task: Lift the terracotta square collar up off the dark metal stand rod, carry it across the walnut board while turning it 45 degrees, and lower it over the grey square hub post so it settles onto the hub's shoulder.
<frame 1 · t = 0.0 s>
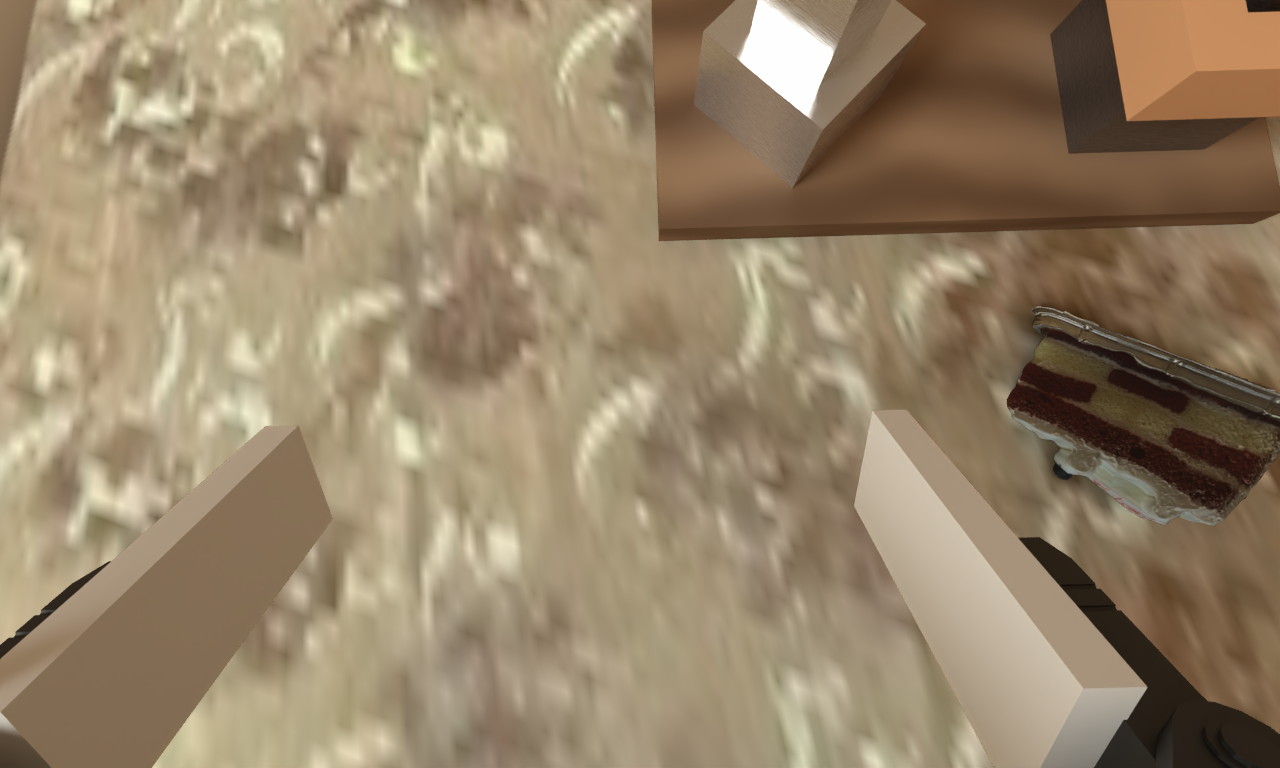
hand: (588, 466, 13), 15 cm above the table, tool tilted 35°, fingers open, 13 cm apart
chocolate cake: (1090, 426, 29), on the table
collar: (1222, 14, 24), point 6 cm above the table, touching stand
stand: (1102, 109, 31), resting on board
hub: (779, 119, 31), resting on board
board: (940, 114, 31), on the table
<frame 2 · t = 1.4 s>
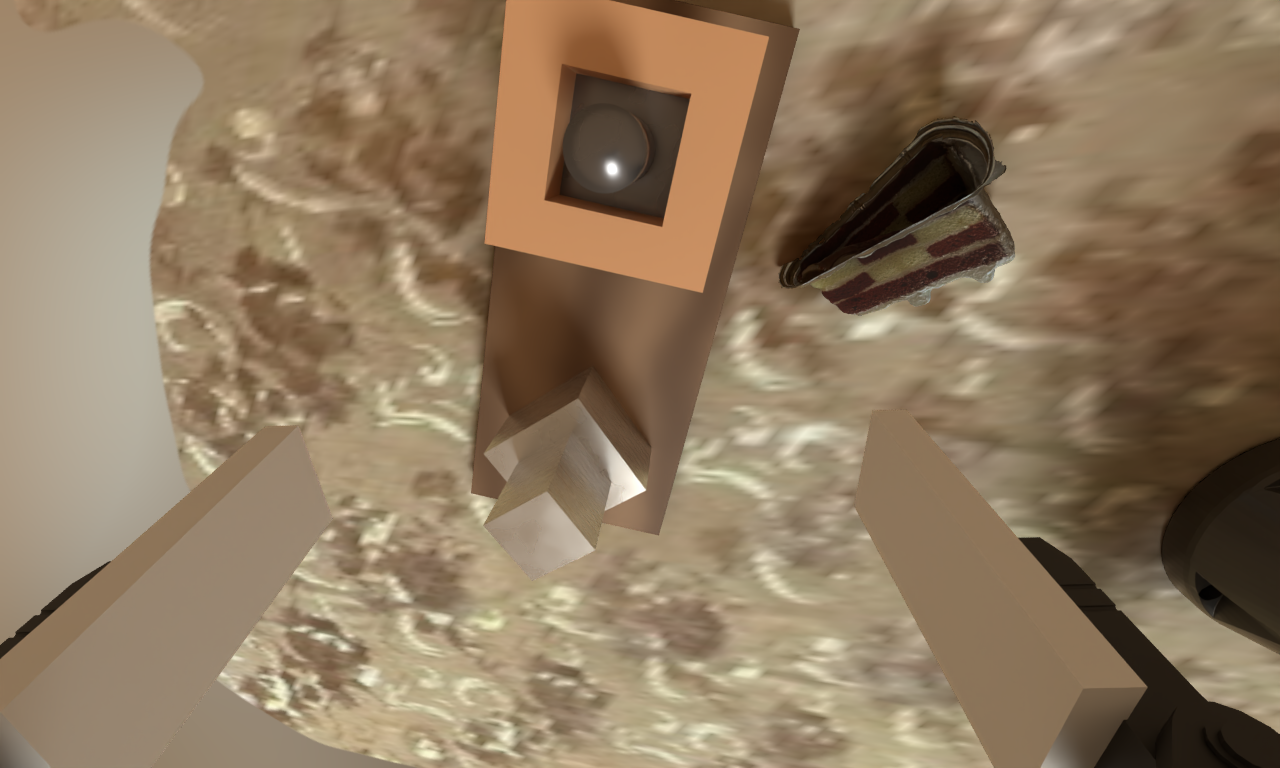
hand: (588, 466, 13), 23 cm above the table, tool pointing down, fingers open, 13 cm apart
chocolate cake: (890, 244, 33), on the table
collar: (622, 149, 25), point 6 cm above the table, touching stand
stand: (635, 148, 31), resting on board
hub: (584, 421, 39), resting on board
board: (607, 299, 35), on the table
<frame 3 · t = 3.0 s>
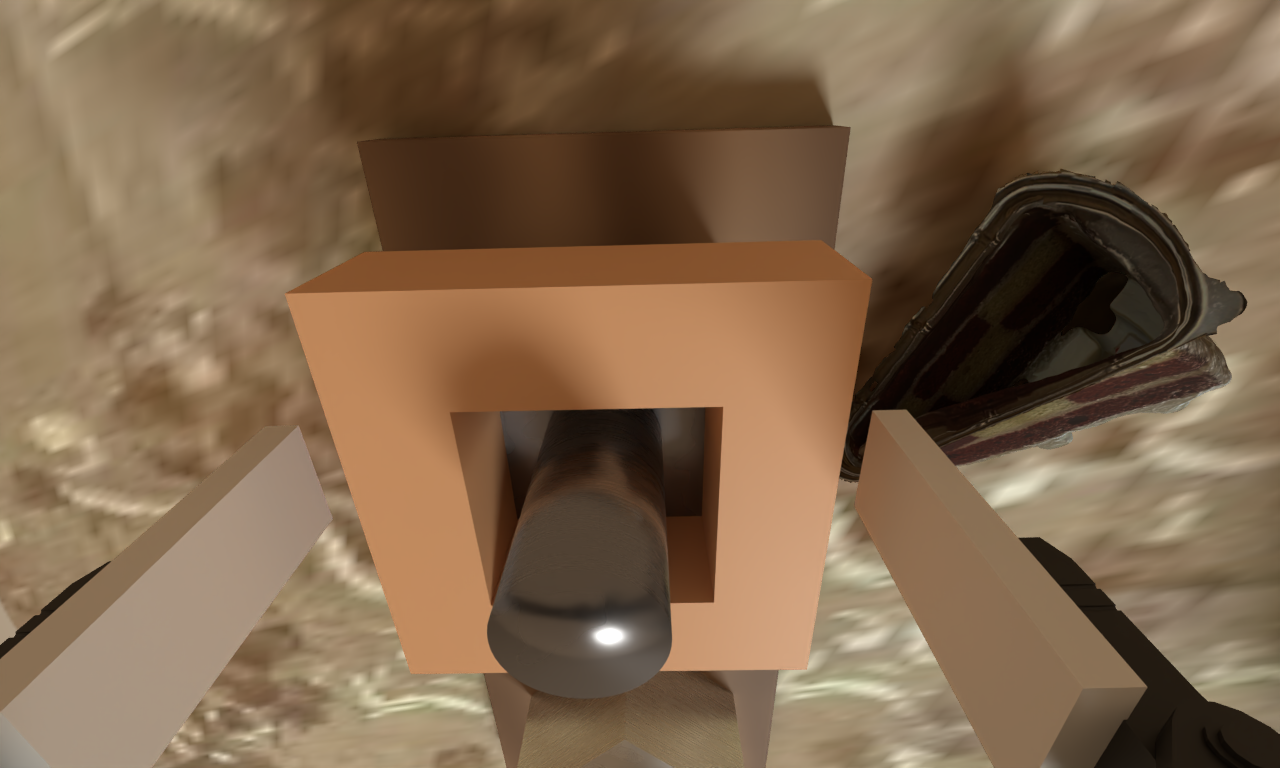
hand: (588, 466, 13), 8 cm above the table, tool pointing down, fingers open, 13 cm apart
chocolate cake: (979, 358, 21), on the table
collar: (604, 439, 14), point 6 cm above the table, touching stand
stand: (615, 342, 20), resting on board
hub: (632, 666, 28), resting on board
board: (625, 532, 24), on the table
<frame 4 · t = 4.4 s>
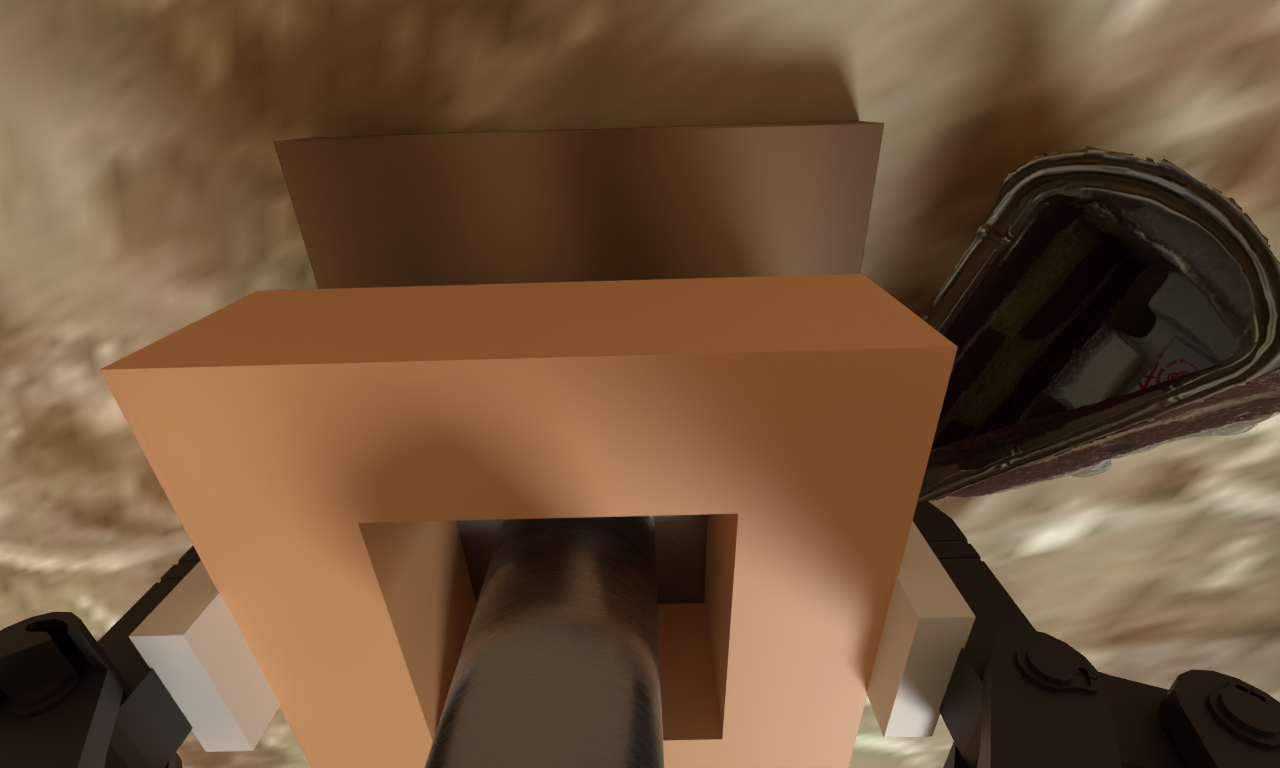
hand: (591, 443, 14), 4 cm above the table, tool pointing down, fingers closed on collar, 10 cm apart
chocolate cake: (995, 372, 18), on the table
collar: (581, 517, 11), point 7 cm above the table, touching gripper, stand
stand: (600, 376, 17), resting on board
board: (614, 584, 21), on the table
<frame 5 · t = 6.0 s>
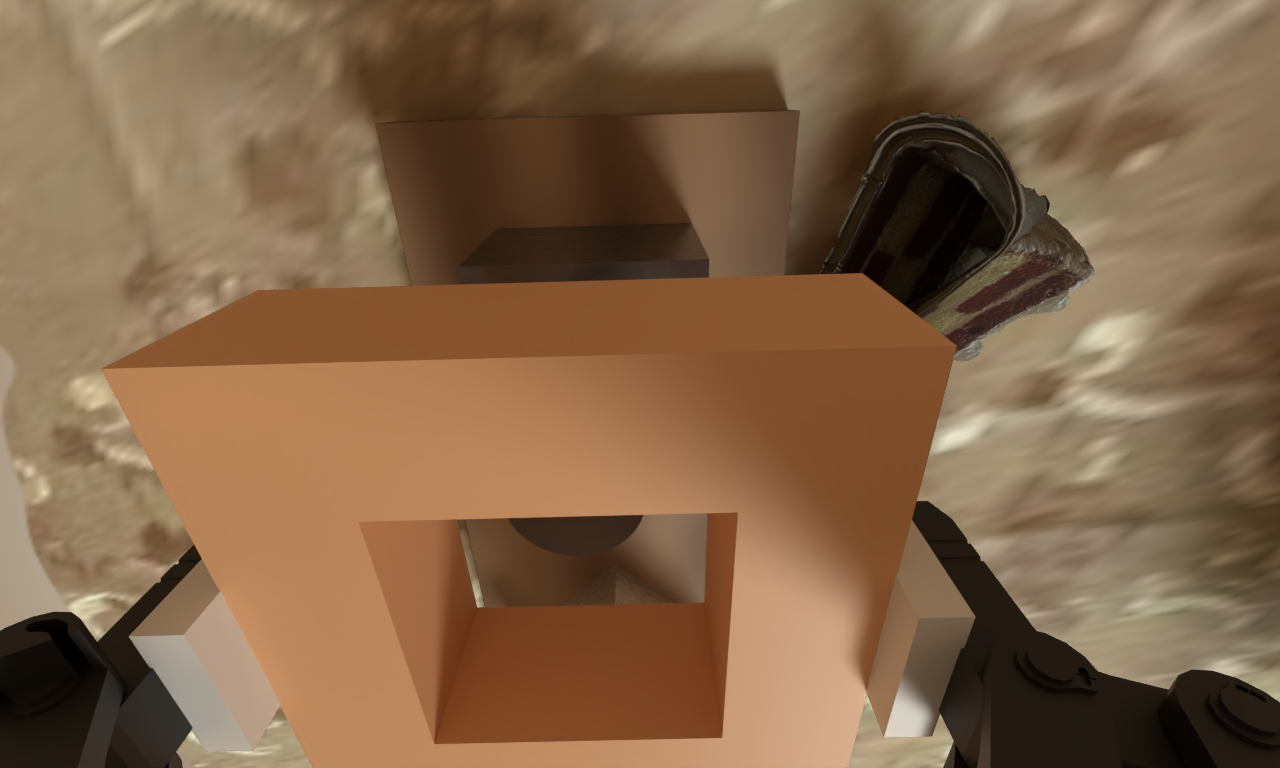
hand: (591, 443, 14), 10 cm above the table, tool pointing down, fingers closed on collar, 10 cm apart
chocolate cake: (896, 288, 23), on the table
collar: (581, 516, 11), point 13 cm above the table, touching gripper
stand: (602, 304, 23), resting on board
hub: (621, 607, 31), resting on board
board: (613, 479, 27), on the table
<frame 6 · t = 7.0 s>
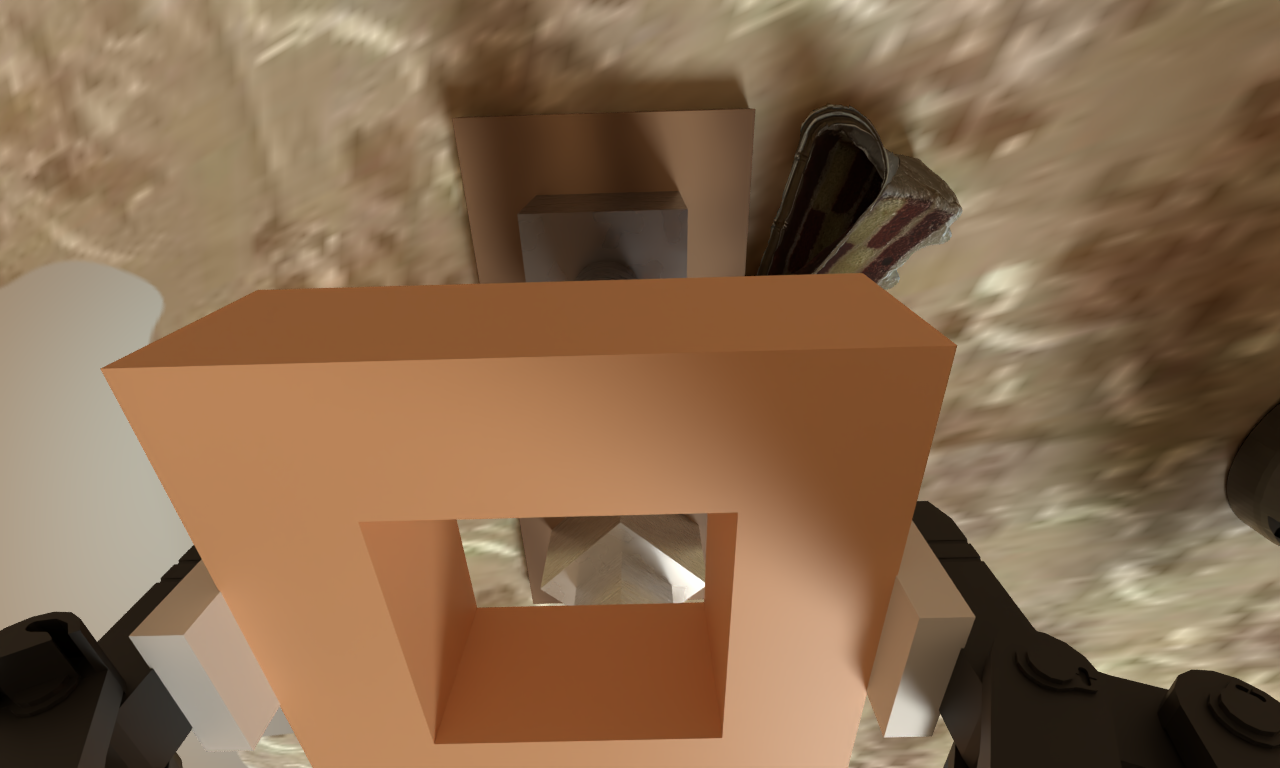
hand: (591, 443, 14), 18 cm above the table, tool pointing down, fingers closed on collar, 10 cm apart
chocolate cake: (833, 238, 30), on the table
collar: (581, 516, 11), point 21 cm above the table, touching gripper
stand: (612, 256, 30), resting on board
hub: (625, 513, 38), resting on board
board: (619, 400, 34), on the table
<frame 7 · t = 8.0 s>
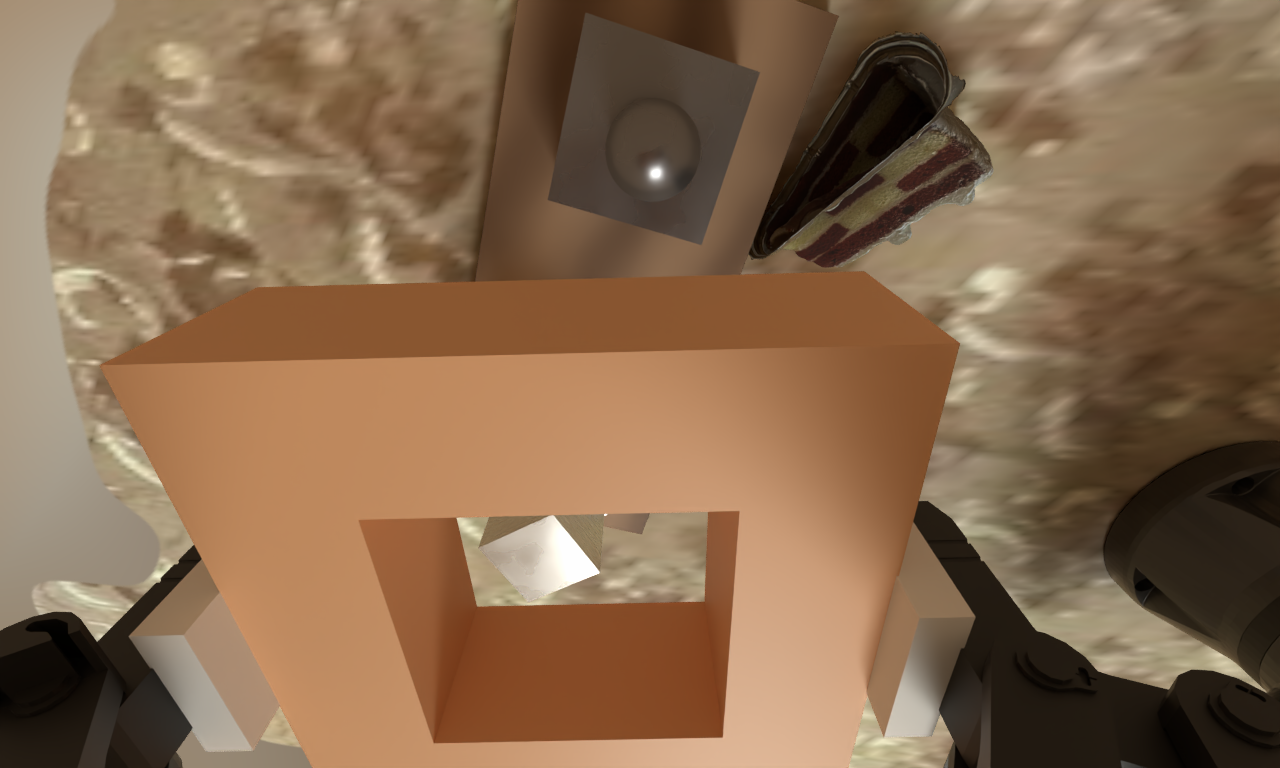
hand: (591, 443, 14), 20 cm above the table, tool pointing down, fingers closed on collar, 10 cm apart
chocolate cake: (856, 184, 30), on the table
collar: (582, 515, 11), point 22 cm above the table, touching gripper
stand: (645, 130, 28), resting on board
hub: (569, 419, 36), resting on board
board: (602, 292, 32), on the table
when the fingers open (5 cm above the table, at t = 12.4 s): collar stays where it is, resting on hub.
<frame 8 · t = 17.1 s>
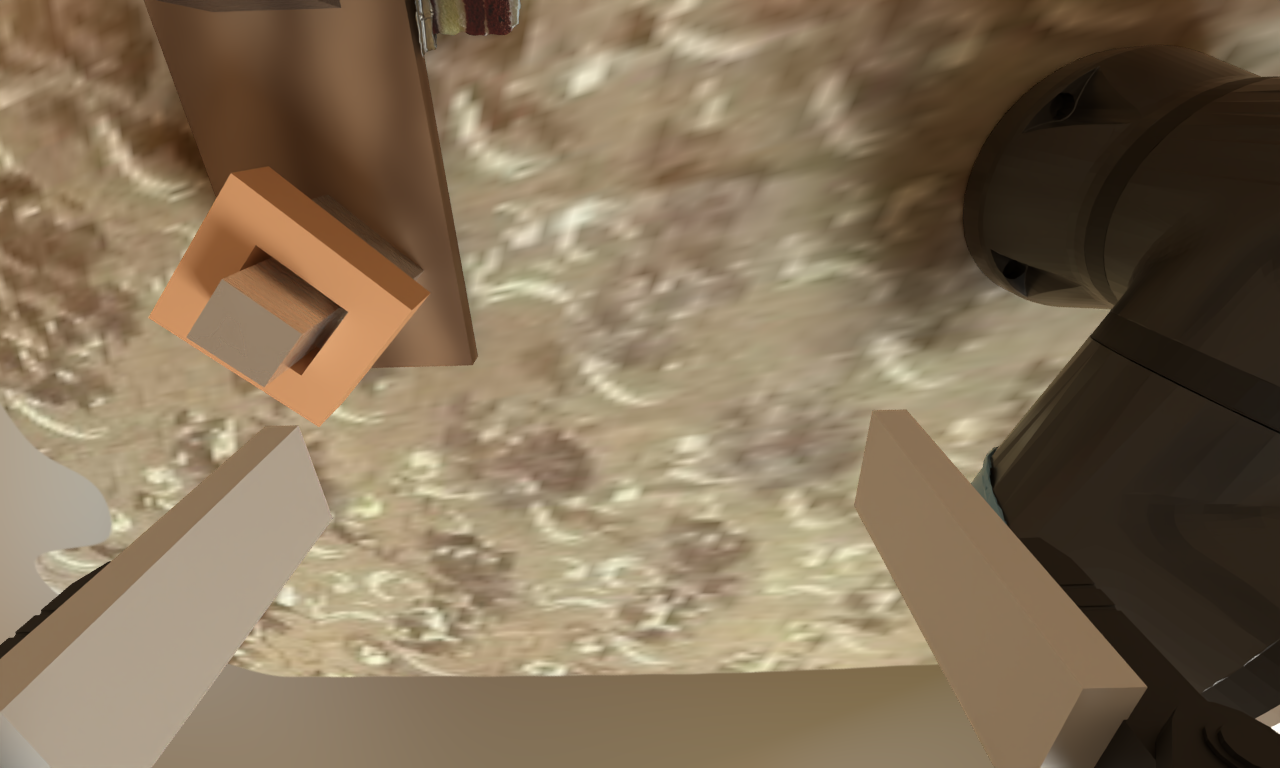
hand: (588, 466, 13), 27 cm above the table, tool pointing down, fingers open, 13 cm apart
collar: (309, 296, 32), point 6 cm above the table, touching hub
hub: (359, 266, 38), resting on board
board: (321, 121, 34), on the table
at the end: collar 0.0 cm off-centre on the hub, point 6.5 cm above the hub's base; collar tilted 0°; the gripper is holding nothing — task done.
